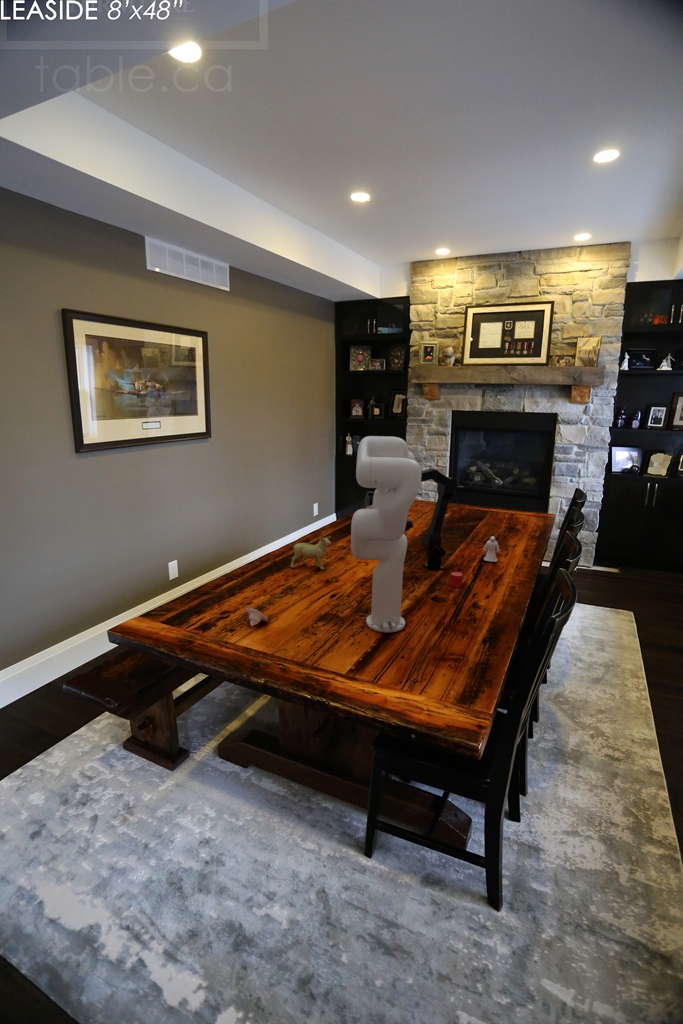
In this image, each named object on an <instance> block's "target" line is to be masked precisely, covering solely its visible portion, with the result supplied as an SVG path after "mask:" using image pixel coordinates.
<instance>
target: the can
mask: <svg viewBox="0 0 683 1024" xmlns="http://www.w3.org/2000/svg"><path fill="white" fill-rule="evenodd" d="M450 587H453V588H461V587H463V573H462V572H458V571H453V572H451V574H450Z"/></svg>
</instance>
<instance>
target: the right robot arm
mask: <svg viewBox="0 0 683 1024" xmlns="http://www.w3.org/2000/svg"><path fill="white" fill-rule="evenodd" d="M431 480H432V481H433V482H434V483H435V484H437V487H436V490H437V491H436V492H437V499H436V502H435V507H434V510H433V515H432V518H431V522H430V524H429V529H428V530H427V531H423V532H422V537H421V539H420V541H421V546H422V547H423V548H424V551H425V552H427V562H426V563H424V564H423V566H424V567H426V568H427V569H428V570H430V571H436V570H444V566H442V557H445V555H446V553H447V552H446V550H445V549H444V548H443V547H442V533H441V532H442V528H443V524H444V521H445V517H446V513H447V511H448V506H449V503H450V499H452V497H453V496H454V495H455V494H456V491H457V489H458V486H459V485H458V484H459V483H458V481H457V479H455V478H452V477H450V476H446V475H444V473H442V472H440V471H439V470H438V469H436V468H433V467H430V468H428V469H423V470H421V483H423V482H426V481H427V482H428V481H431ZM374 493H375V491H366V494H365V496H364V507H365V508H366V507H368V506H371V505H373V497H374ZM413 528H414V522H413V520H411V519H409V518H408V517H407V522H406V527H405V531H404V535H406V534H405V533H407V531H410V530H411V529H413Z"/></svg>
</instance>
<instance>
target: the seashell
mask: <svg viewBox="0 0 683 1024" xmlns="http://www.w3.org/2000/svg"><path fill="white" fill-rule="evenodd" d="M245 611H246V614H248V615H249V616H248V619H249V625H250V626H251V627H253V626H256V625H258V624H259V623H260V622H261V621H265V622H269V618H268V616H267V615H266V614H264V613H263V612H261V611H260V610H259V609H256V608H253V607H245Z"/></svg>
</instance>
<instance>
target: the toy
mask: <svg viewBox="0 0 683 1024" xmlns="http://www.w3.org/2000/svg"><path fill="white" fill-rule="evenodd" d="M331 538H332V535H328V536H326V537H320V538H319V540H318V542H317V543H316V544H310V543H306V542H299V543H298V542H297V543H296V544H294V545H293V547H292V548H293V553H294V556H292V557H291V563H290V569H295V565H294V564H295V562H296V561H297V560H300V561H301V562H302V564H303V565H304V566H307V562H306V559H309V560H311V559H314V563H313V566H314V567H318V565H319V568H320V571H325V568H324V566H323V559H324V558H325V557H326V556H327V551H328V546H329V547H330V546H331V545H332V542H331V541H330V539H331ZM304 558H305V559H304Z"/></svg>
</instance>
